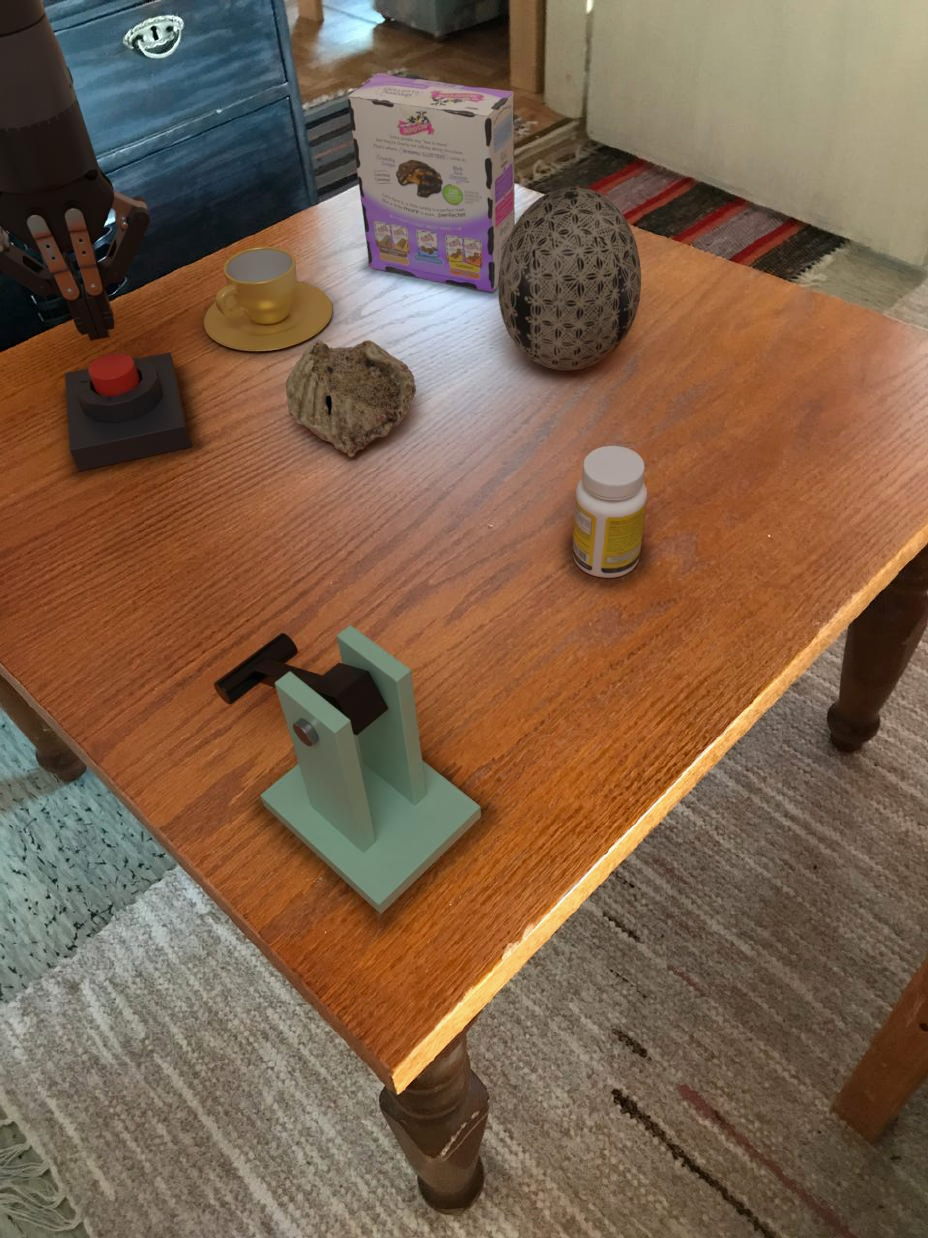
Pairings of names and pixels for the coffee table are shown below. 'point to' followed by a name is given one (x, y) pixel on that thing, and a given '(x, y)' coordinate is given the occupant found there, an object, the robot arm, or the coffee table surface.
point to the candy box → (435, 177)
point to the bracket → (366, 783)
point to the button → (113, 374)
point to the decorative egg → (569, 279)
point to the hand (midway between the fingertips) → (100, 333)
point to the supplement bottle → (609, 512)
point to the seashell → (349, 393)
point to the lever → (307, 682)
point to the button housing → (126, 416)
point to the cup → (265, 303)
